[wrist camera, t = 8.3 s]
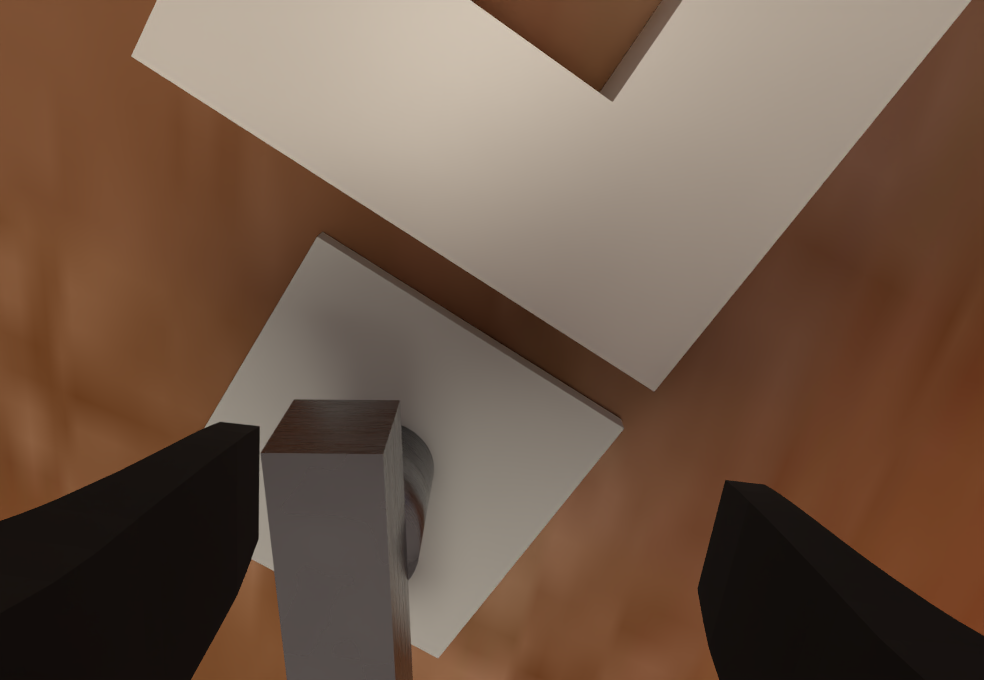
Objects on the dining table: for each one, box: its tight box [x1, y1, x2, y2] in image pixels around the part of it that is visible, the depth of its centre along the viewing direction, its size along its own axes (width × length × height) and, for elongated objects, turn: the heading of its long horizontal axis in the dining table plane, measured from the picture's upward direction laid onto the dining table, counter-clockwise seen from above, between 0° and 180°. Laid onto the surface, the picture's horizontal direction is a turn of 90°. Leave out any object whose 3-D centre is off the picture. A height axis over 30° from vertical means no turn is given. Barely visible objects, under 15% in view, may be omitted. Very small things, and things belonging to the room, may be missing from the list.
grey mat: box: [205, 232, 624, 658], centre depth 23 cm, size 10×10×1 cm
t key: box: [260, 399, 434, 680], centre depth 19 cm, size 8×3×6 cm, turn 0°
